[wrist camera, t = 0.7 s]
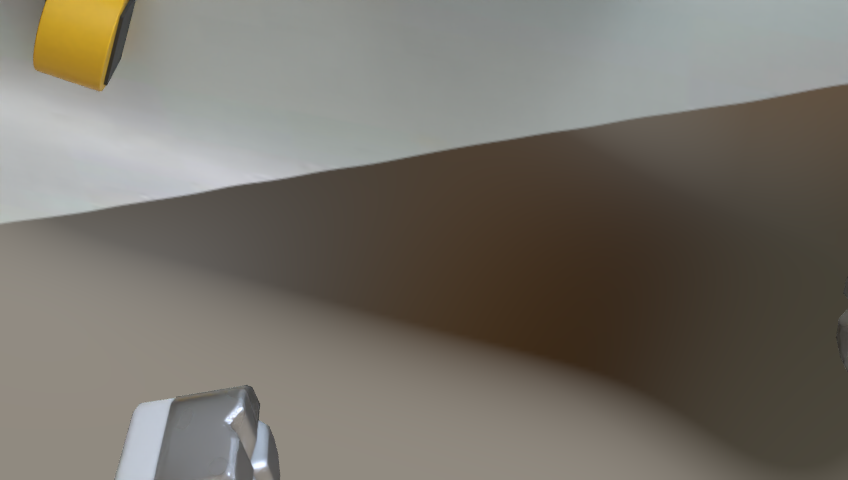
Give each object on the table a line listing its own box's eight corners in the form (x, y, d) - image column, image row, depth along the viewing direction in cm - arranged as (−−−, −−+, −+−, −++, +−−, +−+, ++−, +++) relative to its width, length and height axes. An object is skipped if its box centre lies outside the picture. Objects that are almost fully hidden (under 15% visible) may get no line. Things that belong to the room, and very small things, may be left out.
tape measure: (76, -54, 47) (40, -14, 41) (145, -28, 48) (120, 15, 42) (56, 45, 50) (20, 95, 44) (121, 67, 51) (94, 119, 46)
